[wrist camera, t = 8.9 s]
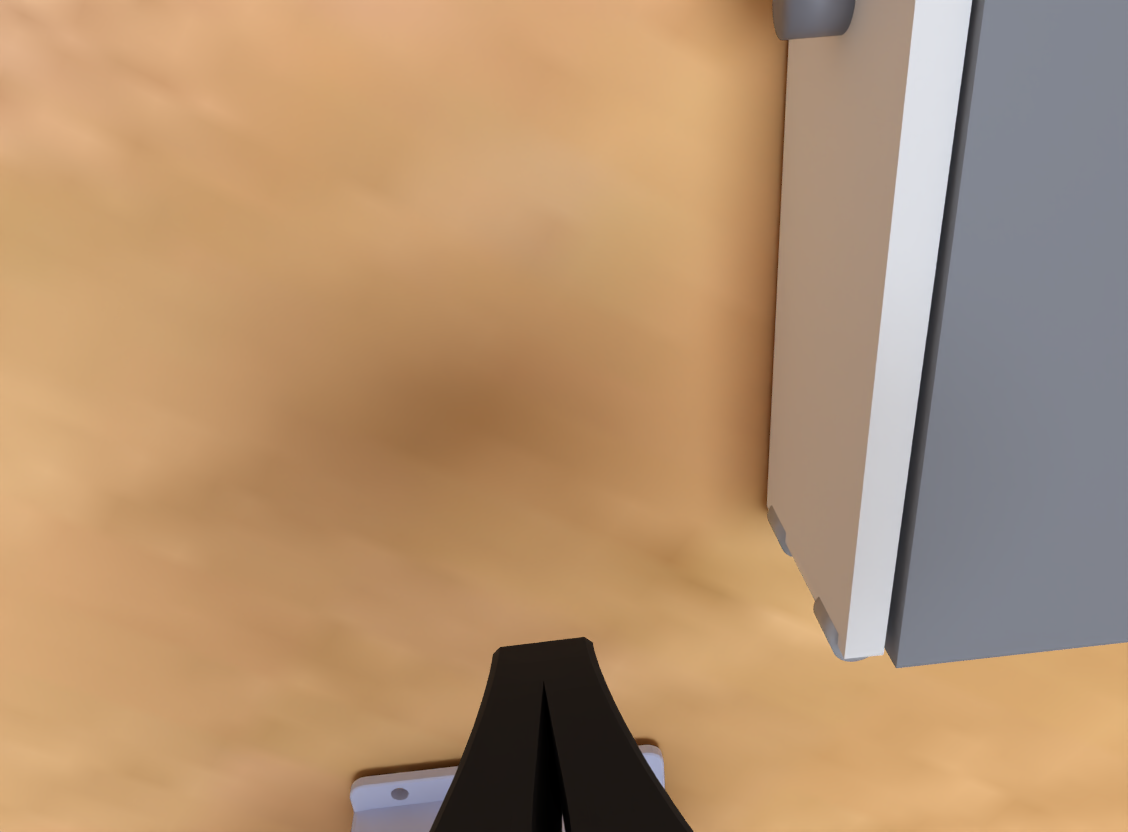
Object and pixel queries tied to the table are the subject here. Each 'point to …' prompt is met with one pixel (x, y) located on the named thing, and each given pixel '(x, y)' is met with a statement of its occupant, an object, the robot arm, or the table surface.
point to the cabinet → (1025, 351)
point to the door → (856, 287)
